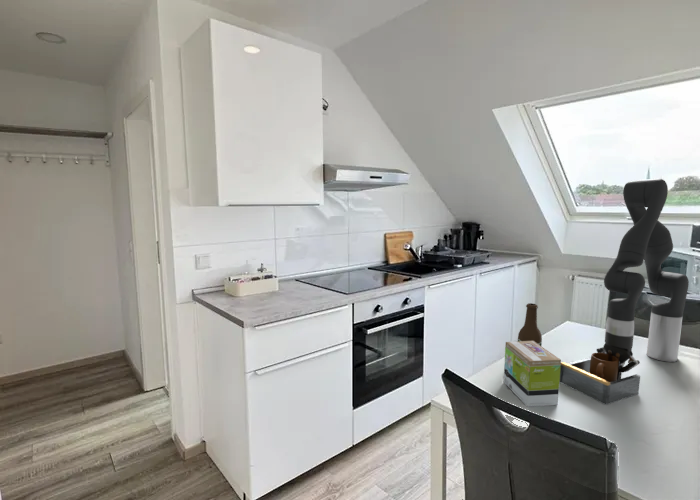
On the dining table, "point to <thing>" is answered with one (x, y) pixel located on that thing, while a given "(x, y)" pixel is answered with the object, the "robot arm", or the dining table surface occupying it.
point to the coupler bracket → (597, 382)
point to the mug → (604, 366)
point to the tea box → (532, 373)
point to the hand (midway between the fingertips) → (614, 380)
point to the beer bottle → (530, 326)
